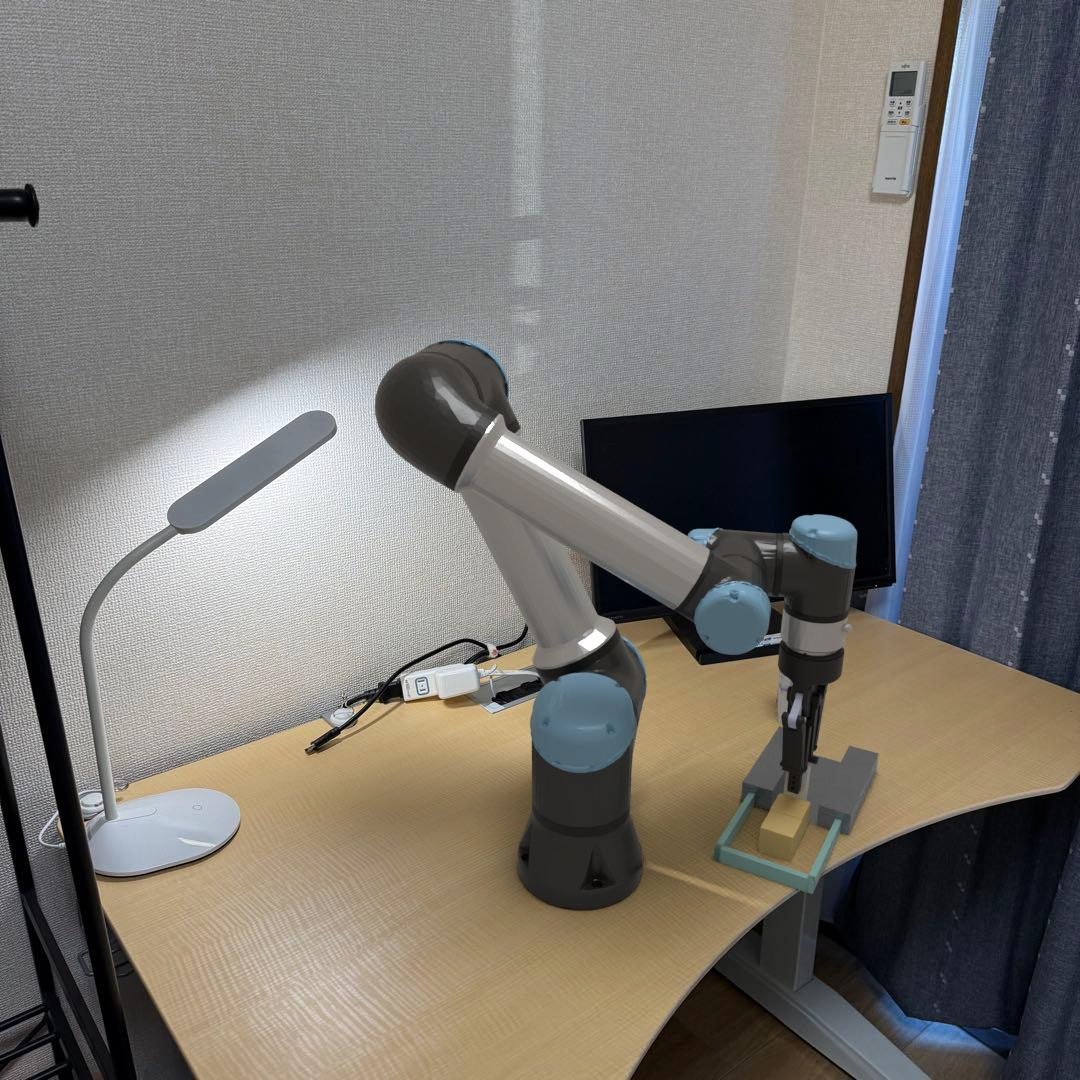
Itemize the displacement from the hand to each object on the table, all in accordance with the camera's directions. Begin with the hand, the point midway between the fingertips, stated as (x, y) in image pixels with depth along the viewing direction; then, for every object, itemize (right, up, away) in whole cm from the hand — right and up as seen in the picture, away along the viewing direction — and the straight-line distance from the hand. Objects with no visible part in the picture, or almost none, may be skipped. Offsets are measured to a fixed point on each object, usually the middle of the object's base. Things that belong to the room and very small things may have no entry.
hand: (793, 808), depth 123 cm
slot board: (+4, 0, +7) cm, 8 cm away
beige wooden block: (-1, -3, -2) cm, 3 cm away
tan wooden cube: (-3, -4, -5) cm, 7 cm away
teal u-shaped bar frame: (-3, -4, -4) cm, 7 cm away
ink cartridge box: (+7, +7, +27) cm, 28 cm away
